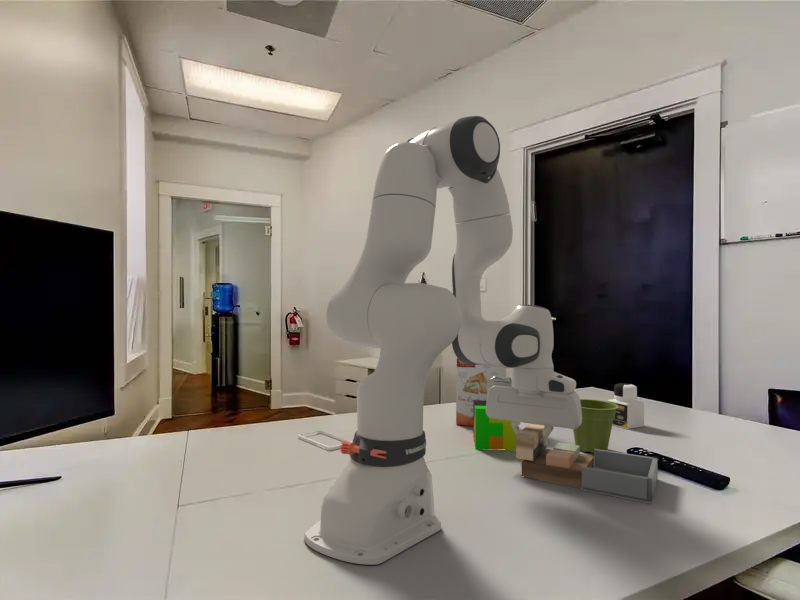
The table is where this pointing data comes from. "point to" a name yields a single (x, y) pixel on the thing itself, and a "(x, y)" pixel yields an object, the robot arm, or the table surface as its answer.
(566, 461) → the tile terracotta
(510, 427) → the puzzle toy
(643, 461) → the tray
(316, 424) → the table surface
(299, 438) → the phone case
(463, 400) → the cracker box
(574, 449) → the tile sage
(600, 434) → the plant pot
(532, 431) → the tall wooden pillar
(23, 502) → the table surface
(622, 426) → the medicine bottle
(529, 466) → the brown wooden block
